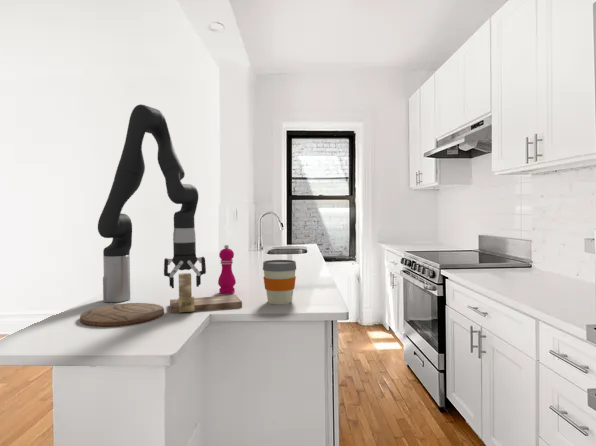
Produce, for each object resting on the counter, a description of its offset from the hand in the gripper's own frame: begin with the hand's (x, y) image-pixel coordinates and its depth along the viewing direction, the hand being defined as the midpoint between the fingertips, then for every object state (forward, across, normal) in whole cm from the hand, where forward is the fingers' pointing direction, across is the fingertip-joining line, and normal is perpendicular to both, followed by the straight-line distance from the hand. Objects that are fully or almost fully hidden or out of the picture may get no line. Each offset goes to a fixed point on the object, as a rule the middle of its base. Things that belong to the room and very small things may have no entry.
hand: (185, 287), depth 144 cm
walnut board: (+7, +7, 0) cm, 10 cm away
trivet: (+8, -20, -5) cm, 22 cm away
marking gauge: (+7, 0, -2) cm, 7 cm away
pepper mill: (+8, +18, +22) cm, 29 cm away
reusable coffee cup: (+8, +34, -2) cm, 35 cm away
